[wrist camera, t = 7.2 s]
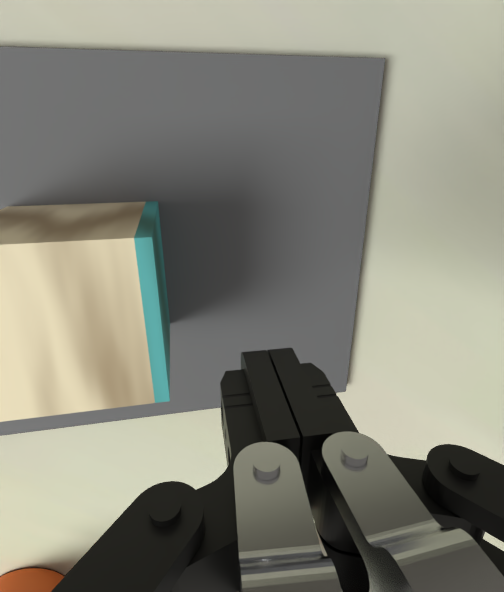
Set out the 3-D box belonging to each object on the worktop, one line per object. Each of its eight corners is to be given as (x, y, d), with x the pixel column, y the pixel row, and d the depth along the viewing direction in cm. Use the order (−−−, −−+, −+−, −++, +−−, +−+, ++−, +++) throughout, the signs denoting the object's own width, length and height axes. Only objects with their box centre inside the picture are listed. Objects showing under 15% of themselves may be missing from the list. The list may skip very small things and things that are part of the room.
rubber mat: (379, 60, 19) (385, 58, 19) (342, 386, 28) (345, 391, 27) (-273, 40, 15) (-290, 37, 14) (-88, 440, 23) (-94, 447, 22)
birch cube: (151, 237, 13) (-78, 248, 12) (169, 401, 16) (-16, 423, 15) (157, 201, 20) (6, 206, 18) (169, 323, 22) (39, 335, 21)
